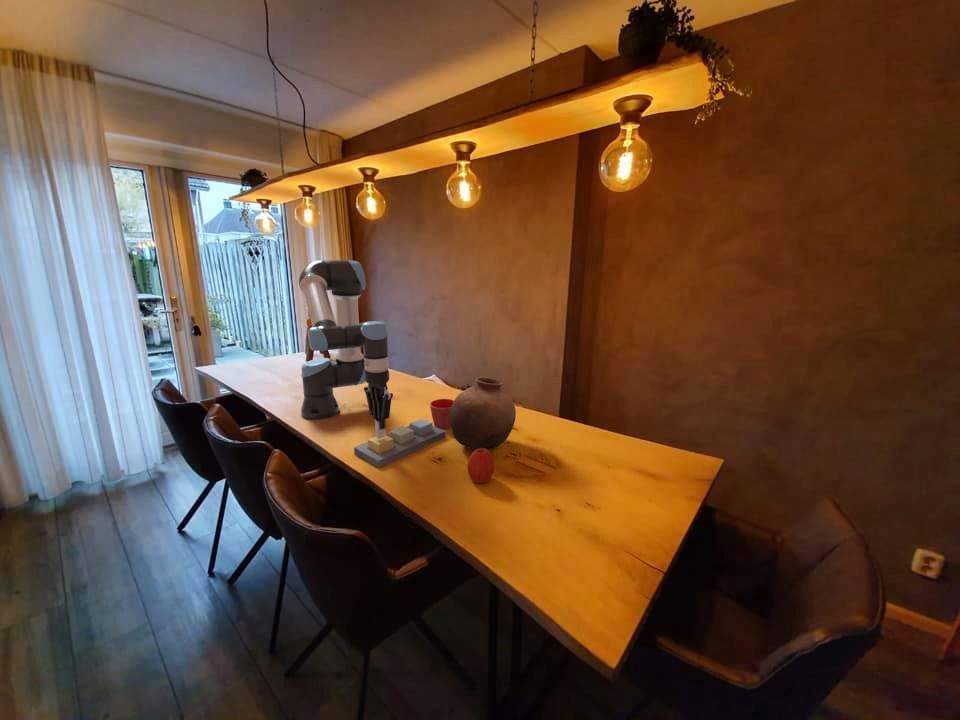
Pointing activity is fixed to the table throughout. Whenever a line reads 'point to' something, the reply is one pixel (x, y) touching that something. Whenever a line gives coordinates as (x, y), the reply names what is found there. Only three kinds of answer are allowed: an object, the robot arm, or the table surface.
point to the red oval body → (480, 466)
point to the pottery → (482, 415)
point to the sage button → (402, 435)
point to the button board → (399, 448)
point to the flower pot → (441, 412)
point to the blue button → (421, 427)
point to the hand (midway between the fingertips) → (380, 436)
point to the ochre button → (380, 444)
